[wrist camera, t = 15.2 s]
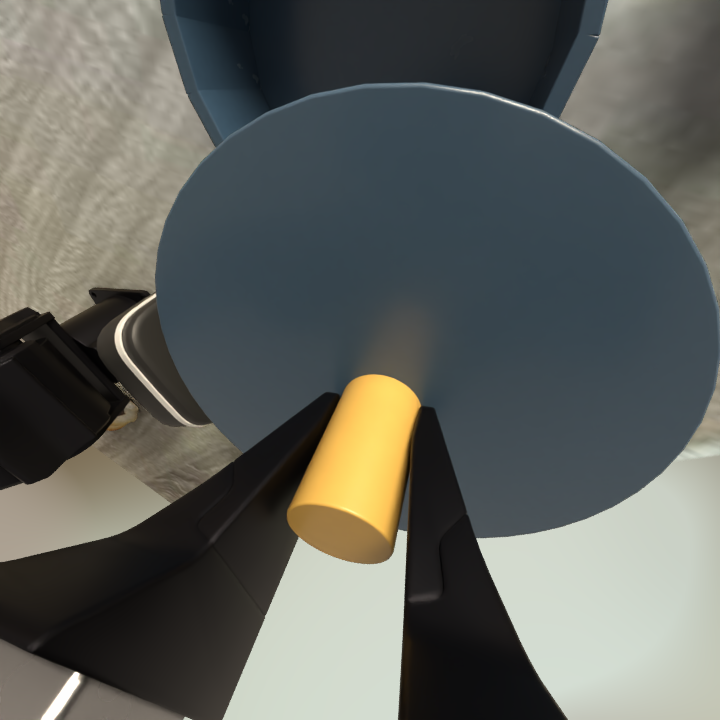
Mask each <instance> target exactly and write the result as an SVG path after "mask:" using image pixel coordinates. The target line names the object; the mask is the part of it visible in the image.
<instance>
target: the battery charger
mask: <svg viewBox="0 0 720 720" xmlns="http://www.w3.org/2000/svg"><path fill="white" fill-rule="evenodd" d="M97 351H98V354H99V357H100V359H101V360H102V362H103V363H104V365H105V366H106V367H107V369H108V370H109V371H110V372H111V373H112V374H113V375H114V376H115V377H116V379H117V380H118V381H119V382H120V383H121V384H122V385H123V386H124V387H125V388H126V390H127V391H128V392H129V393H130V394H131V395H132V396H133V397H134V398H135V399H136V400H137V401H138V402H139V403H140V404H141V405H142V406H143V407H144V408H145V409H146V410H147V411H148V412H149V413H150V414H151V415H152V416H153V417H154V418H156V419H157V420H158V421H160V422H161V423H162V424H165V425H168V426H172V427H181V426H189V427H203V426H207V425H210V424H212V423H213V422H212V421H211V420H210V419H209V418H208V416H207V415H206V414H205V413H204V412H203V410H202V409H201V407H200V406H199V405H198V403H197V402H196V400H195V399H194V398H193V396H192V395H191V393H190V392H189V390H188V388H187V386H186V385H185V383H184V381H183V380H182V378H181V376H180V375H179V373H178V370H177V368H176V366H175V364H174V362H173V359H172V357H171V355H170V353H169V350H168V347H167V344H166V341H165V338H164V335H163V332H162V329H161V324H160V319H159V314H158V308H157V303H156V292H154V293H153V294H151V295H149V296H148V297H146V298H144V299H143V300H141V301H140V302H138V303H137V304H135V305H133V306H132V307H130V308H129V309H127V310H126V311H124V312H123V313H122V314H120V315H119V316H117V317H116V318H114V319H113V320H111V321H110V322H109V323H108V324H107V325H106V326H105V327H104V328H103V329H102V331H101V332H100V334H99V336H98V338H97Z"/></svg>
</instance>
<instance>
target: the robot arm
mask: <svg viewBox="0 0 720 720" xmlns="http://www.w3.org/2000/svg"><path fill="white" fill-rule="evenodd" d="M89 294H90V296H91V297H92V299H93V300H94V302H95V304H96V305H94V306H92V307H90V308H89V309H87V310H85V311H83V312H81V313H80V314H78V315H76V316H74V317H72V318H71V319H69V320H67V321H65V322H64V323H62V324H60V325H59V324H58V323H57V321H56V320H55V319H54V318H55V317H54V316H53V315H52V314H51V313H50V312H46V313H43V314H39V312H36V311H34V310H32V309H30V308H28V307H27V308H24V309H22V310H19V311H17V312H15V313H13V314H11V315H9V316H7V317H5V318H3V319H1V320H0V490H2V489H5V488H8V487H12V486H15V485H18V484H21V483H25V484H27V485H28V484H33V483H35V482H37V481H40V480H43V479H45V478H48V477H49V476H51V475H52V474H53V473H54V472H55V471H56V470H57V469H58V468H59V467H60V466H61V465H62V464H63V463H64V462H65V461H66V460H68V459H70V458H72V457H74V456H76V455H78V454H80V453H81V452H83V451H84V450H86V449H87V448H88V447H90V446H91V445H92V444H94V443H95V442H96V441H97V440H98V439H99V438H100V437H101V436H102V435H103V434H104V432H105V431H106V430H107V429H108V427H109V426H110V425H111V424H112V423H113V421H114V420H115V419H116V418H117V417H118V415H119V414H120V413H121V412H122V411H123V409H124V408H125V407H126V406H127V404H128V403H129V402H130V401H131V400H130V399H129V398H128V397H127V395H124V394H123V393H122V392H121V391H120V390H119V389H118V387H117V386H116V385H115V384H114V383H118V382H119V381H118V380H117V379H116V377H115V376H114V375H113V374H112V373H111V372H110V371H109V370H108V369H107V367H106V366H105V365H104V363H103V362H102V360H101V359H100V357H99V354H98V351H97V338H98V336H99V334H100V332H101V331H102V329H103V328H104V327H105V326H106V325H107V324H108V323H109V322H110V321H111V320H113V319H114V318H116V317H117V316H119V315H120V314H122V313H123V312H124V311H126V310H127V309H129V308H130V307H132V306H133V305H135V304H137V303H138V302H140V301H141V300H143V299H144V298H146V297H148V296H149V295H150V294H149V293H148V292H147V291H144V290H128V289H110V288H92V289H90V290H89ZM21 338H22V339H23V340H24V341H25V342H24V343H23V342H22V341H21V340H20V339H21ZM339 400H340V395H339V394H338V393H333V392H325V393H323V394H322V395H321V396H319V397H318V398H317V399H315V400H314V401H313V402H311V403H310V404H309V405H307V406H306V407H305V408H303V409H302V410H301V411H299V412H298V413H297V414H295V415H294V416H293V417H291V418H290V419H289V420H287V421H286V422H285V423H284V424H282V425H281V426H280V427H278V428H277V429H276V430H274V431H273V432H272V433H270V434H269V435H268V436H266V437H265V438H264V439H262V440H261V441H260V442H258V443H257V444H256V445H254V446H253V447H252V448H250V449H249V450H248V451H246V452H245V453H244V454H242V455H241V456H240V457H238V458H237V459H236V460H235V461H234V462H231V463H230V464H229V465H227V466H226V467H225V468H223V469H222V470H221V471H219V472H218V473H217V474H215V475H214V476H212V477H211V478H210V479H208V480H207V481H206V482H204V483H203V484H201V485H200V486H198V487H196V488H195V489H193V490H192V491H190V492H189V493H187V494H186V495H184V496H183V497H181V498H180V499H178V500H176V501H175V502H173V503H172V504H170V505H169V506H167V507H165V508H164V509H162V510H161V511H159V512H157V513H156V514H154V515H153V516H151V517H150V518H148V519H146V520H145V521H143V522H142V523H140V524H138V525H137V526H135V527H133V528H131V529H129V530H127V531H125V532H122V533H120V534H118V535H114V536H112V537H108V538H104V539H100V540H96V541H92V542H88V543H83V544H79V545H75V546H71V547H66V548H62V549H58V550H54V551H50V552H45V553H41V554H37V555H33V556H29V557H24V558H21V559H16V560H11V561H6V562H0V720H183V719H184V717H188V718H190V719H192V720H222V719H223V717H224V714H225V712H226V710H227V707H228V705H229V702H230V700H231V698H232V695H233V693H234V691H235V688H236V686H237V683H238V681H239V679H240V676H241V674H242V671H243V669H244V667H245V664H246V662H247V660H248V657H249V655H250V652H251V650H252V648H253V645H254V643H255V640H256V638H257V636H258V633H259V630H260V628H261V626H262V624H263V621H264V619H265V615H266V614H267V611H268V609H269V606H270V604H271V602H272V599H273V597H274V594H275V592H276V590H277V587H278V585H279V583H280V580H281V578H282V576H283V573H284V571H285V568H286V566H287V564H288V561H289V559H290V556H291V554H292V552H293V549H294V547H295V544H296V542H297V540H298V537H299V536H298V535H297V534H296V533H295V532H294V531H293V530H292V529H291V527H290V526H289V524H288V521H287V510H288V508H289V506H290V504H291V502H292V499H293V497H294V495H295V493H296V491H297V489H298V487H299V485H300V483H301V480H302V478H303V476H304V474H305V472H306V470H307V468H308V466H309V463H310V461H311V459H312V457H313V455H314V453H315V451H316V449H317V447H318V444H319V442H320V440H321V438H322V436H323V434H324V432H325V430H326V428H327V425H328V423H329V421H330V419H331V417H332V415H333V413H334V411H335V408H336V406H337V404H338V402H339ZM404 599H405V601H404V621H403V641H402V642H403V643H402V659H401V677H400V695H399V713H398V720H568V719H567V718H566V716H565V715H564V713H563V712H562V710H561V709H560V707H559V706H558V704H557V703H556V702H555V700H554V699H553V697H552V696H551V694H550V693H549V691H548V690H547V688H546V687H545V686H544V684H543V682H542V681H541V680H540V678H539V676H538V674H537V673H536V671H535V669H534V667H533V665H532V664H531V662H530V660H529V658H528V656H527V654H526V652H525V650H524V648H523V646H522V644H521V642H520V640H519V638H518V635H517V633H516V631H515V629H514V626H513V624H512V622H511V620H510V618H509V616H508V613H507V611H506V609H505V606H504V604H503V602H502V600H501V598H500V596H499V593H498V591H497V589H496V586H495V584H494V582H493V580H492V578H491V575H490V573H489V570H488V568H487V566H486V563H485V561H484V558H483V556H482V554H481V551H480V549H479V545H478V542H477V540H476V537H475V534H474V531H473V528H472V525H471V522H470V518H469V516H468V515H467V509H466V506H465V503H464V500H463V497H462V493H461V490H460V487H459V484H458V481H457V477H456V474H455V471H454V468H453V465H452V461H451V458H450V455H449V452H448V449H447V445H446V442H445V439H444V436H443V433H442V429H441V426H440V423H439V420H438V417H437V413H436V410H435V408H433V407H428V406H420V408H419V411H418V415H417V419H416V423H415V427H414V431H413V435H412V441H411V459H410V482H409V505H408V529H407V553H406V575H405V598H404Z"/></svg>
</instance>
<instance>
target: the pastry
mask: <svg viewBox="0 0 720 720" xmlns="http://www.w3.org/2000/svg"><path fill="white" fill-rule="evenodd" d="M138 411H139V410H138V407H137V406H136V405H135V404H134V403H133V402H132V401H130V402H129V403H128V404H127V406H126V407H125V408H124V409H123V411H122V412H121V413H120V414H119V415H118V417H117V418H116V419H115V420H114V421H113V423H112V424H111V425H110V426H109V427H108V429H107V430H109V431H114V430H118V429H121V428H122V427H124V426H125V425H126V424H128V423H130V422H134V421H135V420H136V419H137V413H138Z"/></svg>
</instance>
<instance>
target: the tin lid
mask: <svg viewBox="0 0 720 720" xmlns="http://www.w3.org/2000/svg"><path fill="white" fill-rule="evenodd" d="M155 284H156V303H157V308H158V314H159V319H160V324H161V329H162V332H163V335H164V338H165V341H166V344H167V347H168V350H169V353H170V355H171V357H172V359H173V362H174V364H175V366H176V368H177V370H178V373H179V375H180V376H181V378H182V380H183V381H184V383H185V385H186V386H187V388H188V390H189V392H190V393H191V395H192V396H193V398H194V399H195V400H196V402H197V403H198V405H199V406H200V407H201V409H202V410H203V412H204V413H205V414H206V415H207V416H208V418H209V419H210V420H211V421H212V422H213V423H214V425H215V426H216V427H217V428H218V429H219V430H220V431H221V432H222V433H223V434H224V435H225V436H226V437H227V438H228V439H229V440H230V441H231V442H232V443H233V444H234V445H235V446H236V447H237V448H238V449H239V450H240V451H241V452H243V453H245V452H246V451H248V450H249V449H250V448H252V447H253V446H254V445H256V444H257V443H258V442H260V441H261V440H262V439H264V438H265V437H266V436H268V435H269V434H270V433H272V432H273V431H274V430H276V429H277V428H278V427H280V426H281V425H282V424H284V423H285V422H286V421H287V420H289V419H290V418H291V417H293V416H294V415H295V414H297V413H298V412H299V411H301V410H302V409H303V408H305V407H306V406H307V405H309V404H310V403H311V402H313V401H314V400H315V399H317V398H318V397H319V396H321V395H322V394H323V393H325V392H333V393H338V394H339V395H340V400H339V402H338V404H337V406H336V408H335V411H334V413H333V415H332V417H331V419H330V421H329V423H328V425H327V428H326V430H325V432H324V434H323V436H322V438H321V440H320V442H319V444H318V447H317V449H316V451H315V453H314V455H313V457H312V459H311V461H310V463H309V466H308V468H307V470H306V472H305V474H304V476H303V478H302V480H301V483H300V485H299V487H298V489H297V491H296V493H295V495H294V497H293V499H292V502H291V504H290V506H289V508H288V510H287V521H288V524H289V526H290V527H291V529H292V530H293V531H294V532H295V533H296V534H297V535H298V536H299V537H300V538H301V539H303V540H304V541H305V542H307V543H308V544H309V545H311V546H313V547H314V548H316V549H318V550H320V551H322V552H324V553H326V554H328V555H331V556H333V557H336V558H339V559H342V560H346V561H350V562H354V563H362V564H376V563H381V562H384V561H386V560H388V559H389V558H390V557H391V556H392V554H393V552H394V547H395V542H396V537H397V532H398V529H399V530H403V531H407V529H408V505H409V482H410V459H411V441H412V435H413V431H414V427H415V423H416V419H417V415H418V411H419V408H420V406H428V407H433V408H435V410H436V413H437V417H438V420H439V423H440V426H441V429H442V433H443V436H444V439H445V442H446V445H447V449H448V452H449V455H450V458H451V461H452V465H453V468H454V471H455V474H456V477H457V481H458V484H459V487H460V490H461V493H462V497H463V500H464V503H465V506H466V509H467V515H468V516H469V518H470V522H471V525H472V528H473V531H474V534H475V537H476V538H493V537H509V536H516V535H524V534H531V533H536V532H541V531H546V530H550V529H555V528H559V527H562V526H566V525H568V524H572V523H575V522H578V521H581V520H584V519H587V518H589V517H591V516H594V515H596V514H598V513H600V512H602V511H605V510H607V509H609V508H612V507H613V506H615V505H617V504H619V503H620V502H622V501H624V500H625V499H627V498H629V497H630V496H632V495H634V494H635V493H637V492H638V491H640V490H641V489H642V488H644V487H645V486H646V485H647V484H649V483H650V482H651V481H652V480H654V479H655V478H656V477H658V476H659V475H660V474H661V473H662V472H663V471H664V470H665V469H666V468H667V467H668V466H669V465H670V464H671V463H672V462H673V461H674V460H675V458H676V457H677V456H678V455H679V454H680V453H681V452H682V451H683V450H684V448H685V447H686V445H687V444H688V442H689V441H690V439H691V438H692V436H693V435H694V433H695V431H696V430H697V428H698V427H699V425H700V424H701V422H702V420H703V418H704V415H705V413H706V410H707V408H708V405H709V403H710V400H711V398H712V395H713V393H714V390H715V386H716V380H717V374H718V368H719V362H720V314H719V306H718V302H717V299H716V296H715V292H714V289H713V285H712V282H711V278H710V275H709V271H708V268H707V264H706V263H705V261H704V259H703V257H702V255H701V253H700V252H699V250H698V248H697V246H696V244H695V242H694V241H693V239H692V237H691V235H690V233H689V231H688V230H687V228H686V226H685V224H684V222H683V220H682V219H681V218H680V217H679V216H678V214H677V213H676V212H675V211H674V210H673V209H672V207H671V206H670V205H669V204H668V203H667V201H666V200H665V199H664V198H663V197H662V196H661V194H660V193H659V192H658V191H657V190H656V189H655V187H654V186H653V185H652V184H651V183H650V182H649V180H648V179H647V178H646V177H645V176H643V175H642V174H641V173H640V172H638V171H637V170H636V169H635V168H633V167H632V166H631V165H630V164H628V163H627V162H626V161H625V160H623V159H622V158H621V157H620V156H618V155H617V154H616V153H615V152H613V151H612V150H611V149H610V148H608V147H607V146H606V145H605V144H603V143H602V142H601V141H599V140H598V139H596V138H594V137H592V136H590V135H588V134H586V133H584V132H583V131H581V130H579V129H577V128H575V127H573V126H571V125H569V124H568V123H566V122H564V121H562V120H560V119H558V118H556V117H555V116H553V115H551V114H549V113H547V112H545V111H543V110H541V109H538V108H535V107H532V106H529V105H526V104H523V103H519V102H516V101H513V100H510V99H507V98H504V97H501V96H498V95H495V94H492V93H489V92H486V91H481V90H474V89H467V88H461V87H454V86H447V85H440V84H433V83H426V82H417V83H374V84H361V85H356V86H351V87H346V88H341V89H336V90H331V91H326V92H321V93H316V94H311V95H309V96H306V97H304V98H301V99H299V100H296V101H293V102H291V103H288V104H286V105H283V106H281V107H278V108H276V109H273V110H271V111H268V112H266V113H264V114H263V115H261V116H260V117H258V118H256V119H255V120H253V121H252V122H250V123H248V124H247V125H245V126H244V127H242V128H240V129H239V130H237V131H236V132H234V133H232V134H231V135H229V136H228V137H227V138H226V139H225V140H224V141H223V142H222V143H221V144H220V145H219V146H218V147H216V148H215V149H214V150H213V151H212V152H211V153H210V154H209V155H208V156H207V157H206V158H205V159H204V160H203V161H201V163H200V164H199V165H198V167H197V168H196V169H195V171H194V172H193V174H192V175H191V176H190V178H189V179H188V180H187V182H186V183H185V184H184V186H183V187H182V189H181V190H180V192H179V194H178V196H177V198H176V200H175V202H174V204H173V206H172V208H171V210H170V213H169V215H168V217H167V219H166V221H165V225H164V228H163V232H162V236H161V240H160V243H159V247H158V253H157V263H156V273H155Z"/></svg>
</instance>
